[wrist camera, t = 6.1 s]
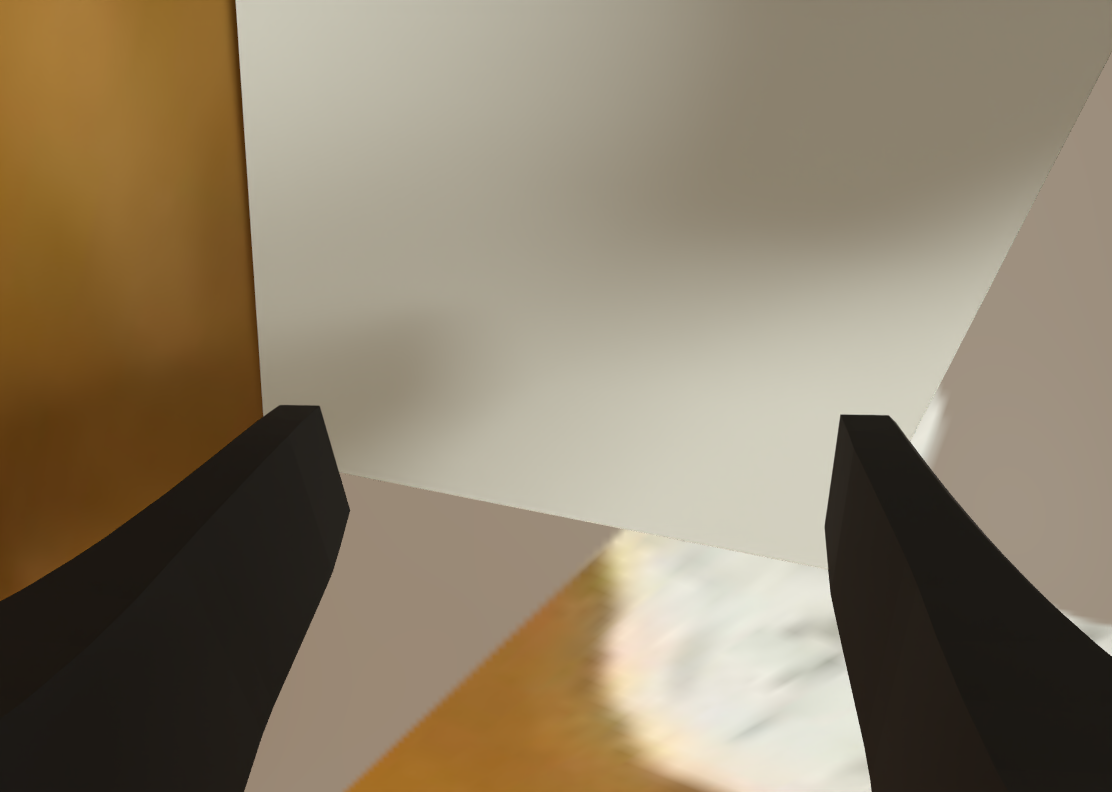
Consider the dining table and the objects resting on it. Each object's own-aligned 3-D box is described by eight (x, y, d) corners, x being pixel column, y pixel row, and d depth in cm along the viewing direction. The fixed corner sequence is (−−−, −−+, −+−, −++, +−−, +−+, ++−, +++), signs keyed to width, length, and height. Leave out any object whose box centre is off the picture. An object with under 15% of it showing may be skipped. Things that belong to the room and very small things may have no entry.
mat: (1241, -225, 14) (1254, -225, 13) (840, 561, 25) (842, 572, 24) (218, -419, 14) (207, -422, 14) (271, 448, 25) (266, 457, 24)
